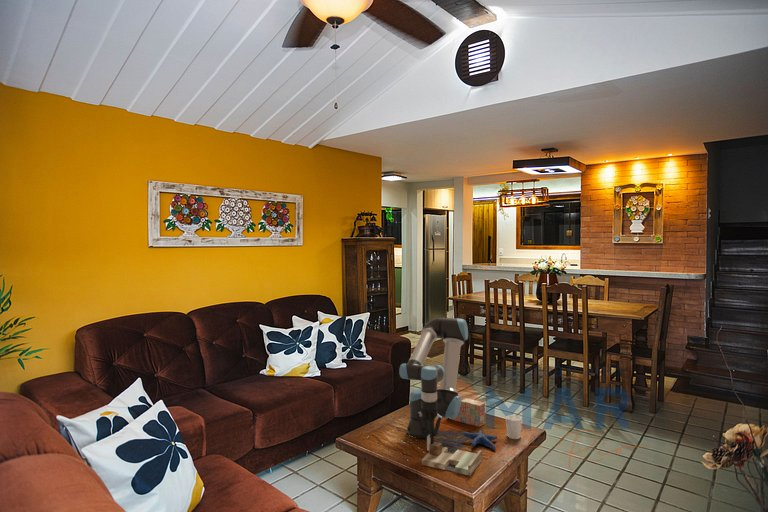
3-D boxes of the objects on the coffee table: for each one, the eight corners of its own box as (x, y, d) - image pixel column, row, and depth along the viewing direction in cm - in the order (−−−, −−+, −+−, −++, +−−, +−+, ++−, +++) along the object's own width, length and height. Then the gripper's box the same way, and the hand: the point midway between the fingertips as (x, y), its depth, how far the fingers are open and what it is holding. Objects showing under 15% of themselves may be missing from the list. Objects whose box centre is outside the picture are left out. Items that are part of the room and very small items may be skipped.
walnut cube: (429, 454, 216) (429, 444, 215) (433, 450, 219) (433, 441, 219) (438, 456, 213) (438, 446, 213) (442, 452, 217) (441, 443, 217)
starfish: (481, 455, 219) (481, 445, 219) (456, 442, 235) (456, 432, 235) (509, 446, 229) (509, 436, 229) (483, 434, 245) (483, 424, 245)
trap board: (422, 464, 211) (421, 454, 211) (436, 450, 226) (436, 441, 225) (470, 475, 200) (470, 465, 199) (481, 460, 214) (481, 450, 214)
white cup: (503, 434, 244) (503, 415, 244) (518, 433, 245) (518, 414, 245) (509, 440, 236) (508, 420, 236) (523, 439, 237) (523, 420, 237)
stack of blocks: (446, 418, 268) (446, 397, 267) (452, 415, 272) (452, 394, 272) (480, 427, 254) (479, 405, 254) (485, 424, 259) (485, 402, 259)
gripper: (413, 400, 217) (413, 449, 218) (439, 404, 211) (439, 455, 211) (420, 395, 224) (420, 443, 224) (445, 399, 217) (445, 449, 218)
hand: (429, 449), depth 218 cm, fingers closed
